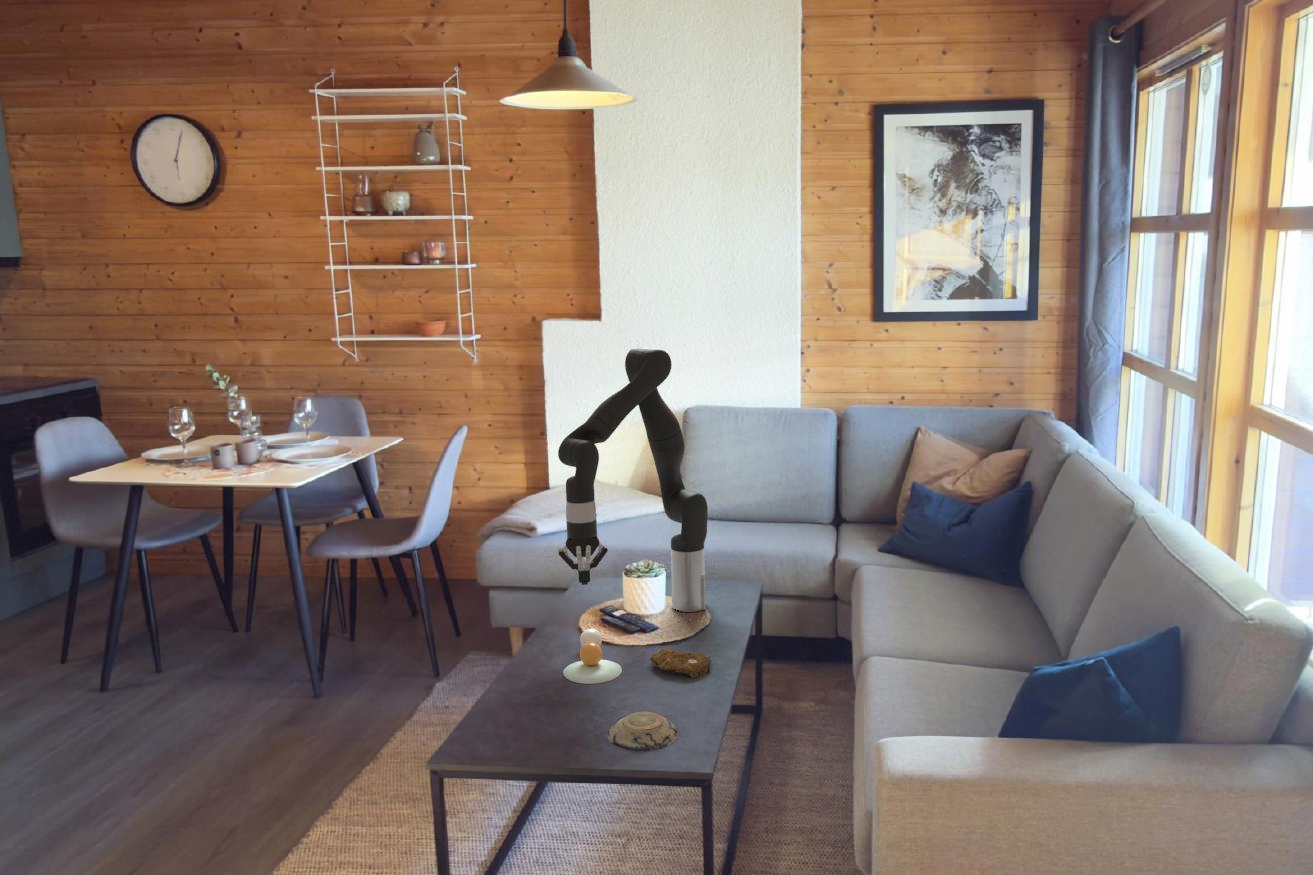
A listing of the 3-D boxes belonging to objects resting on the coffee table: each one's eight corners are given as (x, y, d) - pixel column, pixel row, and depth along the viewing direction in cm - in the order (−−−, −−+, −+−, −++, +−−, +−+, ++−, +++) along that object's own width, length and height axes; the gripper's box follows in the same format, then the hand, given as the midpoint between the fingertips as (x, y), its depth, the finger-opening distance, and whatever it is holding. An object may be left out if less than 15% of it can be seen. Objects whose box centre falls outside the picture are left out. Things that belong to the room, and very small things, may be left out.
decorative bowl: (600, 726, 225) (616, 758, 210) (599, 710, 224) (615, 740, 210) (667, 717, 229) (687, 747, 214) (667, 701, 228) (687, 730, 214)
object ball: (602, 641, 258) (605, 646, 253) (599, 664, 258) (601, 669, 253) (580, 639, 257) (582, 644, 252) (577, 661, 257) (579, 666, 252)
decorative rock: (642, 678, 249) (704, 685, 245) (642, 662, 248) (704, 669, 244) (655, 657, 260) (714, 664, 256) (655, 641, 259) (714, 648, 255)
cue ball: (605, 627, 264) (605, 649, 262) (597, 632, 269) (596, 653, 266) (585, 625, 262) (584, 647, 260) (577, 629, 266) (576, 651, 264)
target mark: (623, 659, 258) (623, 658, 258) (620, 683, 244) (620, 682, 244) (566, 660, 258) (566, 659, 258) (560, 684, 245) (560, 683, 245)
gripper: (606, 512, 267) (608, 577, 271) (554, 515, 265) (557, 581, 269) (609, 519, 260) (612, 586, 263) (555, 523, 258) (559, 590, 261)
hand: (584, 583), depth 266 cm, fingers closed
